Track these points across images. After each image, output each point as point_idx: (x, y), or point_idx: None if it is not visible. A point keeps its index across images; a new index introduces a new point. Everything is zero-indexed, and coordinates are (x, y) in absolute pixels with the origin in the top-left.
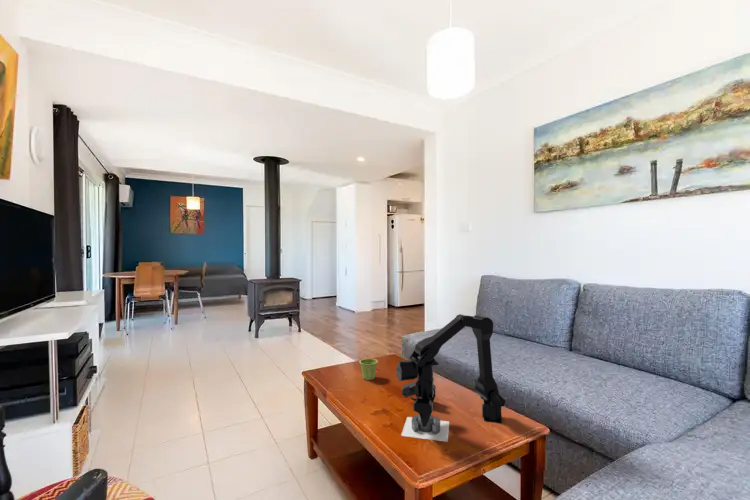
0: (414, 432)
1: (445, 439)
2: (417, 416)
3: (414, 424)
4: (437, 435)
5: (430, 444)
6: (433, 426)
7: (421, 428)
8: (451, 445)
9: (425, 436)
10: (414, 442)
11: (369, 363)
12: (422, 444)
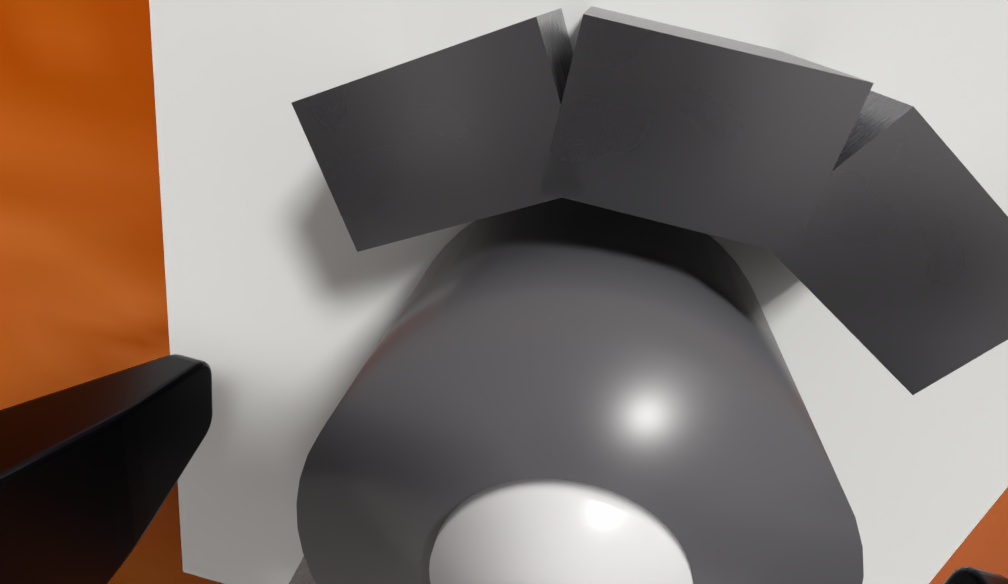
0: (375, 70)
1: (228, 563)
2: (869, 298)
3: (308, 108)
4: None
5: (74, 331)
6: None
7: (424, 277)
8: (148, 577)
9: (250, 297)
10: (27, 33)
11: None
12: (21, 196)
